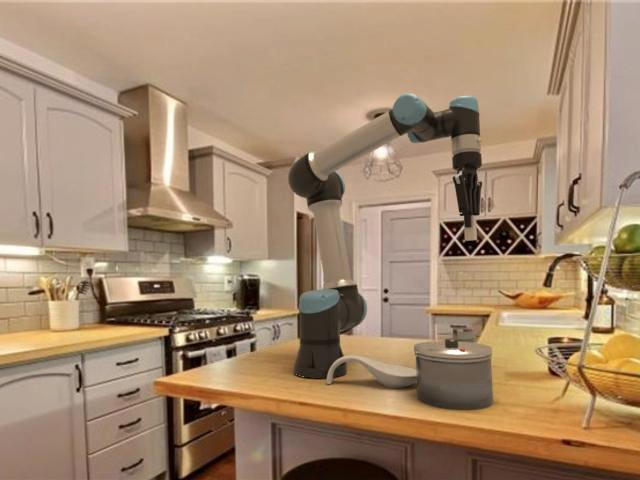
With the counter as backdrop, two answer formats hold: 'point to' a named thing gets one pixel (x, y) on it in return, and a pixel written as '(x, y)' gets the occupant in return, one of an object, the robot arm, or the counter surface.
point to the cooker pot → (454, 382)
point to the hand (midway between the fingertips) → (470, 240)
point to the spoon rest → (379, 371)
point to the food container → (464, 334)
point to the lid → (453, 349)
